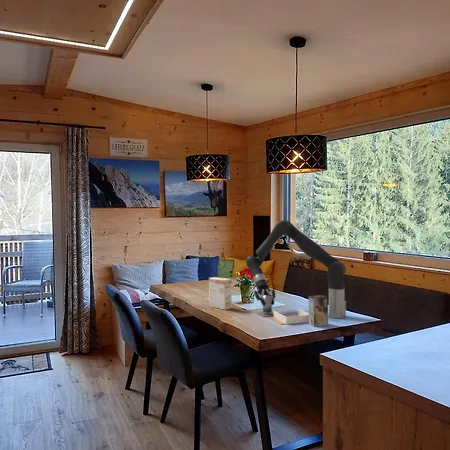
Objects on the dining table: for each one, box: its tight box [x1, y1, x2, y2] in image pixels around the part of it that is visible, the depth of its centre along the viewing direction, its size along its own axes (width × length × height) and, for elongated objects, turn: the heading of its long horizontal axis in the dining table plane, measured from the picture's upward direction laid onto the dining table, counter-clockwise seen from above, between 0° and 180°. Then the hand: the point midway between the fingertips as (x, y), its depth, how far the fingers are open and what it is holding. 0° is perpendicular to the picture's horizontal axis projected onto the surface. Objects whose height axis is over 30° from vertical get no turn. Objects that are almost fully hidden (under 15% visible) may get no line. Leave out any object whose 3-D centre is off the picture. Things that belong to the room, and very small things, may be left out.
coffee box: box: [308, 294, 329, 327], centre depth 244 cm, size 9×6×16 cm
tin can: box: [262, 294, 273, 313], centre depth 267 cm, size 6×6×10 cm
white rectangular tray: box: [268, 308, 309, 325], centre depth 257 cm, size 23×18×4 cm
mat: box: [256, 311, 274, 318], centre depth 268 cm, size 10×10×1 cm
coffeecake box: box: [208, 276, 233, 311], centre depth 288 cm, size 15×7×20 cm, turn 44°
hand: (268, 304), depth 266 cm, fingers closed on tin can, 5 cm apart
